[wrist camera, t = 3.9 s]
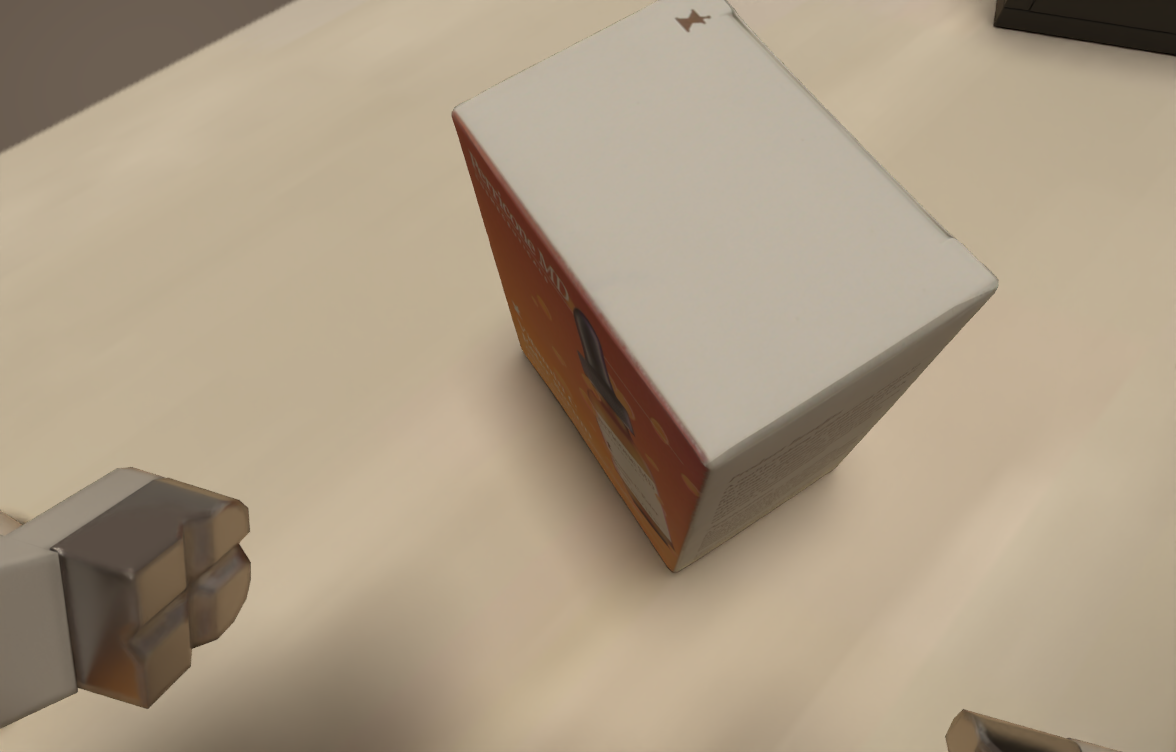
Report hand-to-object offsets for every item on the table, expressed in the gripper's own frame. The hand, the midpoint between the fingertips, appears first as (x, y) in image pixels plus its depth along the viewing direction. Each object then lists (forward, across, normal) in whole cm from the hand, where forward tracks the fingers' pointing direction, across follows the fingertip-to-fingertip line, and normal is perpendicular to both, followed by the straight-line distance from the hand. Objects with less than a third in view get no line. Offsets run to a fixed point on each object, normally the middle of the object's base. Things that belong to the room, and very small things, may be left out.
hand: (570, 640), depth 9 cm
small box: (+14, 0, +3) cm, 14 cm away
